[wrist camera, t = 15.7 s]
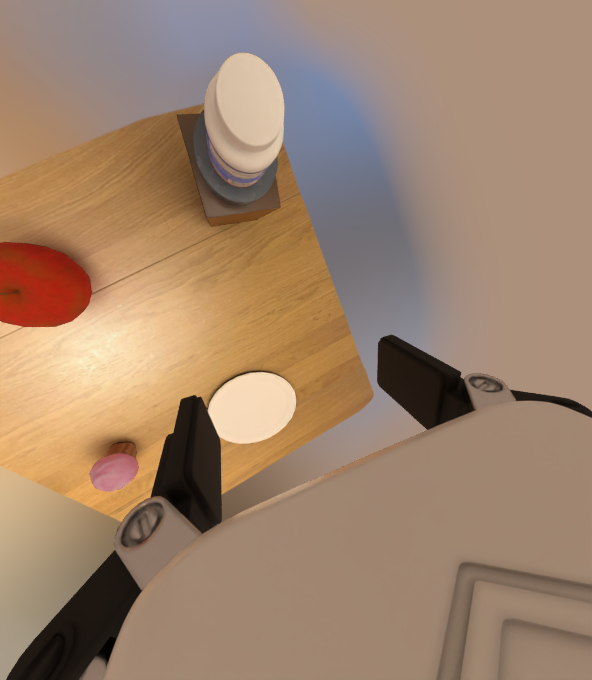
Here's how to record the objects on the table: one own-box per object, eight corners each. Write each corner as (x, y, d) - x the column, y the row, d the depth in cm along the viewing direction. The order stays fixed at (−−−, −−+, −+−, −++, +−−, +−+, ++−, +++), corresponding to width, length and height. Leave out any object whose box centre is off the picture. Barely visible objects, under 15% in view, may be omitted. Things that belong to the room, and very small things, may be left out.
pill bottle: (229, 100, 19) (237, -7, 11) (276, 154, 22) (313, 102, 14) (195, 155, 20) (179, 95, 12) (245, 202, 23) (261, 180, 14)
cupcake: (99, 438, 53) (76, 477, 44) (142, 431, 56) (128, 467, 47) (109, 464, 56) (89, 504, 48) (148, 456, 59) (136, 494, 50)
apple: (13, 294, 38) (-84, 320, 26) (25, 226, 35) (-77, 219, 23) (101, 320, 43) (56, 351, 31) (117, 263, 41) (75, 273, 29)
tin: (185, 122, 22) (178, 100, 18) (261, 118, 24) (268, 97, 20) (210, 211, 26) (209, 207, 22) (275, 202, 27) (283, 197, 24)
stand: (194, 169, 39) (176, 114, 22) (245, 164, 41) (265, 110, 23) (211, 226, 43) (206, 218, 26) (256, 219, 45) (280, 207, 28)
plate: (187, 423, 59) (186, 427, 58) (246, 353, 56) (247, 356, 55) (259, 450, 71) (260, 453, 70) (311, 394, 68) (312, 396, 67)
